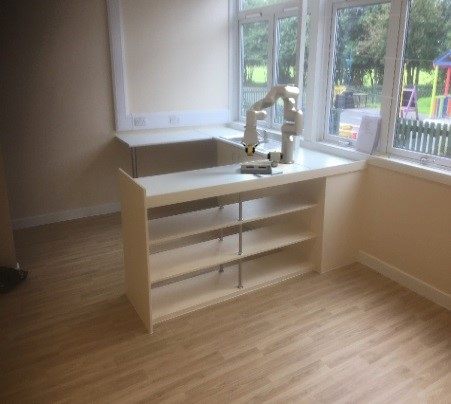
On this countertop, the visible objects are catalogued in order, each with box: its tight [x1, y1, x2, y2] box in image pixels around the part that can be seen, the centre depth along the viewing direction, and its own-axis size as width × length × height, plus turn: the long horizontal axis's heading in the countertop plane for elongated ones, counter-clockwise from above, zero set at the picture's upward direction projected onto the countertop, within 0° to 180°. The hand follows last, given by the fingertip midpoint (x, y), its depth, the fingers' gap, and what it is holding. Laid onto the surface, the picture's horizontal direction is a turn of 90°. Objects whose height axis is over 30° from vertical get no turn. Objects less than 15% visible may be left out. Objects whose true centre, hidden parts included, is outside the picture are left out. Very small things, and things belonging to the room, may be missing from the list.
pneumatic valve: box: [266, 150, 283, 168], centre depth 326 cm, size 6×12×12 cm, turn 92°
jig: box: [240, 164, 273, 175], centre depth 310 cm, size 16×22×3 cm
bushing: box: [246, 144, 254, 157], centre depth 306 cm, size 4×4×8 cm
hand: (250, 152), depth 307 cm, fingers closed on bushing, 4 cm apart
